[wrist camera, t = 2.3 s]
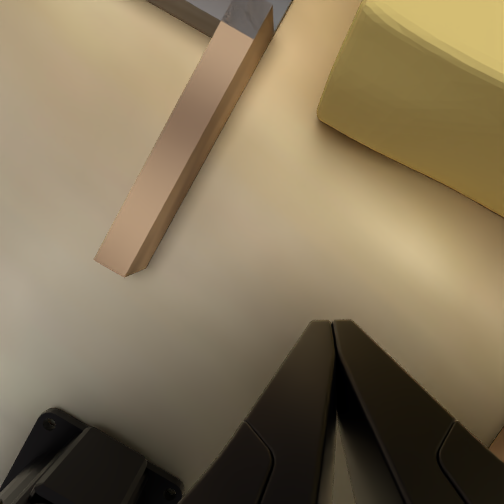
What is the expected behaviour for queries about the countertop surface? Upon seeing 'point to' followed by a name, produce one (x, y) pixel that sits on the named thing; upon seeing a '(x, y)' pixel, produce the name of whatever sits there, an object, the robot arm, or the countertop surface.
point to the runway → (196, 127)
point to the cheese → (426, 90)
